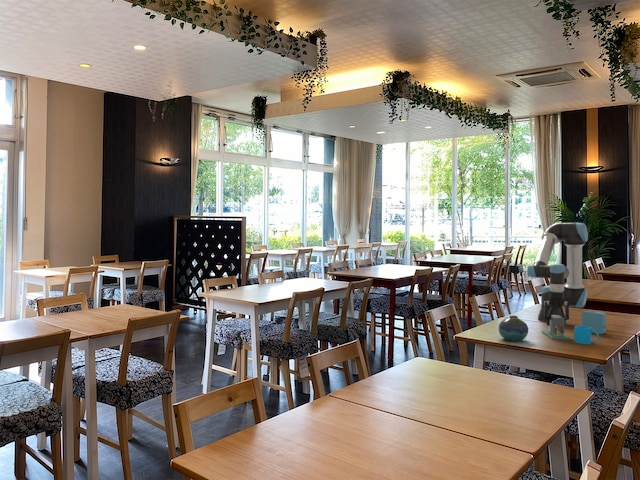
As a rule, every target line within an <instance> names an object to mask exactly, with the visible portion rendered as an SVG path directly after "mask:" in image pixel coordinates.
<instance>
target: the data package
mask: <svg viewBox="0 0 640 480" xmlns="http://www.w3.org/2000/svg"><path fill="white" fill-rule="evenodd" d="M580 326H588V327H591V329H592V330H594V331H596V332H597V333H598V334H599V335H602V334H605V333H606V332H607V314H606V313H605V312H599V311H593V310H585V311H582V313H581V324H580ZM591 334H596V333H595V332H593V331H591Z"/></svg>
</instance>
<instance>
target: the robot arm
mask: <svg viewBox="0 0 640 480" xmlns="http://www.w3.org/2000/svg"><path fill="white" fill-rule="evenodd" d="M588 234H589V232H588V228H587V225H586V224H585V223H584V222H555V223H553V224H551V225H550V226H548V227H546V228H545V230H544V231H543V233H542V235H541V243H540V246H539V249H538V251H537V254H536V257H535V260H534V263H533V264H532V263H531V264H529V265H528V266H527V269H526V271H527V276H528V277H530V278H535V279H536V278H537V279H538V278H541V279H549V284H548V285H544V286H542V287H541V293H540V294H541V296H540V297H541V299H540V300H541V303H540V304H541V305H540V306H541V307H540V310H539V312H538V316H537V319H538V321H541V322H545V323H546V326H547V329H548V330H547V331H549V332H551V320H550V318H551V315H559V316H561V317H563V318H565V322H566V321H567V320H570V307H571V308H584V307H585V305H586V302H587V298H588V289H586V288H585V287H586V286H585V285H584V284H583V279H582V278H583V277H582V276H583V246H585V244H586V242H588V240H589V235H588ZM558 242H563V244H564V245H565V247H566V266H565V264H562V263H551V264H550V265H549V262H550V258H551V257H552V253H553V250H554V246H555V245H556V244H557V243H558ZM565 279H566V283H565ZM563 307H564V308H563Z"/></svg>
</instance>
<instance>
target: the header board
mask: <svg viewBox="0 0 640 480" xmlns="http://www.w3.org/2000/svg"><path fill="white" fill-rule="evenodd" d="M541 334H543V335H545V336H546V337H548V338H549V339H550V340H571V337H570V336H568V335H567V334H565V333H564V334H561V333H560V332H559V330H558V329H557V327H555V334H552V333H551V332H549V331H548V330H541Z"/></svg>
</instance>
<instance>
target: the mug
mask: <svg viewBox="0 0 640 480" xmlns="http://www.w3.org/2000/svg"><path fill="white" fill-rule="evenodd" d="M591 331H593V332H595V333H594V334H595V335H596V339H594V340H592V333H591ZM573 334H574V335H573V342H575V343H577V344H582V345H590V344H592V343H596V342H598V341H599V339H600V334H598V333H597V332H596V331H594V330H592V329H591V327H588V326H581V325H574V333H573Z"/></svg>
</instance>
